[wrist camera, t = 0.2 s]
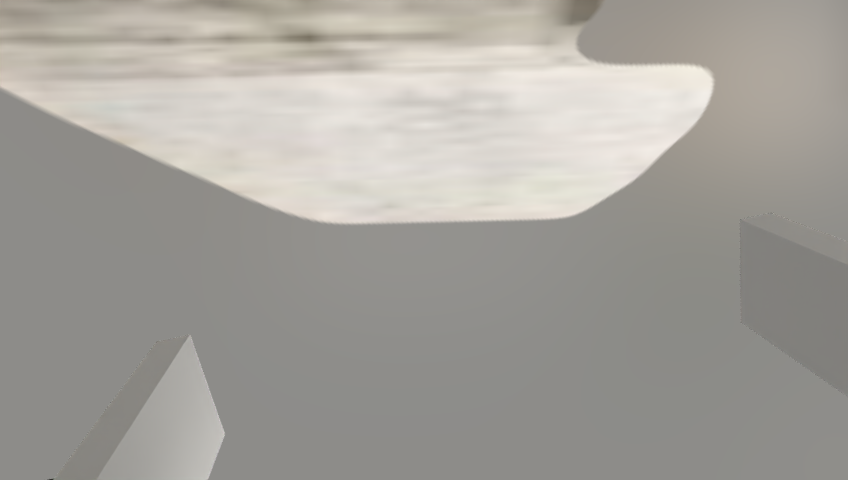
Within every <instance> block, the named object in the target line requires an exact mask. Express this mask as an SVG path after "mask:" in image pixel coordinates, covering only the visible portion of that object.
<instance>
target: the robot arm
mask: <svg viewBox="0 0 848 480" xmlns="http://www.w3.org/2000/svg"><path fill="white" fill-rule="evenodd" d="M740 287H741V289H740V292H741V293H740V294H741V323H742V324H744V325H745V326H747V327H748V328H749V329H751V330H753V331H754V332H756V333H757V334H758V335H760V336H761V337H762V338H764V339H765V340H767V341H768V342H770V343H771V344H772V345H774V346H775V347H777V348H778V349H780V350H781V351H782V352H784V353H785V354H787V355H788V356H790V357H791V358H792V359H794V360H795V361H797V362H798V363H800V364H802V365H803V366H804V367H805V368H807V369H808V370H810V371H811V372H813V373H814V374H815V375H817V376H818V377H820V378H821V379H823V380H824V381H826V382H827V383H828V384H830V385H832V386H833V387H834V388H836V389H837V390H838V391H840V392H841V393H843V394H844V395H846V396H847V397H848V241H845V240H842V239H839V238H837V237H834V236H831V235H829V234H826V233H823V232H821V231H818V230H815V229H813V228H810V227H807V226H805V225H802V224H799V223H797V222H794V221H791V220H789V219H786V218H783V217H780V216H778V215H775V214H773V213H768V214H763V215H758V216H753V217H749V218H744V219H740ZM224 435H225V433H224V430H223V427H222V424H221V421H220V419H219V416H218V413H217V410H216V407H215V405H214V402H213V399H212V396H211V393H210V390H209V387H208V384H207V382H206V379H205V376H204V373H203V371H202V367H201V365H200V362H199V359H198V356H197V354H196V350H195V348H194V345H193V342H192V339H191V336H190V335H185V336H181V337H176V338H172V339H167V340H162V341H157V342H156V343H155V344H154V346H153V347H152V348H151V350H150V351H149V352H148V354H147V355H146V357H145V358H144V359H143V360H142V362H141V363H140V364H139V366H138V367H137V369H136V370H135V371H134V372H133V374H132V375H131V376H130V378H129V379H128V380H127V382H126V383H125V385H124V386H123V387H122V388H121V390H120V391H119V393H118V394H117V395H116V397H115V398H114V399H113V401H112V402H111V403H110V405H109V406H108V407H107V409H106V410H105V411H104V413H103V414H102V415H101V417H100V418H99V419H98V421H97V422H96V423H95V425H94V426H93V427H92V429H91V430H90V431H89V433H88V434H87V435H86V437H85V438H84V439H83V441H82V442H81V443H80V445H79V446H78V447H77V449H76V450H75V451H74V453H73V454H72V455H71V457H70V458H69V459H68V461H67V462H66V464H65V465H64V466H63V468H62V469H61V470H60V471H59V473H58V474H57V475H56V477H55V478H54V479H49V480H208V478H209V475H210V472H211V470H212V467H213V464H214V462H215V459H216V456H217V454H218V451H219V448H220V446H221V443H222V440H223V438H224Z"/></svg>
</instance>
